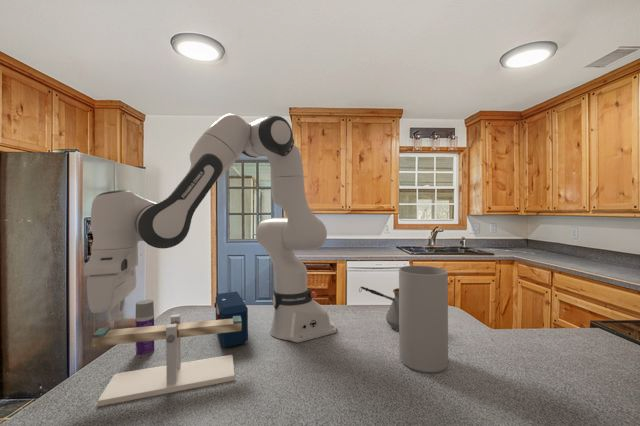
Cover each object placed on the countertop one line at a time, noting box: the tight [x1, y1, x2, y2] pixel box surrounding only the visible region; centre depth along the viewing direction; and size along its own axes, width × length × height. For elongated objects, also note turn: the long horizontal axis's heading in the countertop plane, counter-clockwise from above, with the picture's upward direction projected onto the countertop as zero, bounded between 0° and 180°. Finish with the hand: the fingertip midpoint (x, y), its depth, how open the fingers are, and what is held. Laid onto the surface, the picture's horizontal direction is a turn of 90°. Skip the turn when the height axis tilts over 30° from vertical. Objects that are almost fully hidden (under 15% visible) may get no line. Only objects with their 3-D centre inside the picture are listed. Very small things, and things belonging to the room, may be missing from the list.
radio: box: [213, 291, 249, 348], centre depth 97 cm, size 21×9×20 cm, turn 24°
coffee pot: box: [358, 286, 399, 331], centre depth 102 cm, size 21×12×15 cm, turn 98°
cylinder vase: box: [398, 265, 449, 374], centre depth 79 cm, size 12×12×25 cm
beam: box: [91, 316, 242, 348], centre depth 72 cm, size 32×4×3 cm, turn 109°
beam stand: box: [97, 313, 236, 407], centre depth 72 cm, size 28×11×15 cm, turn 109°
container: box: [134, 299, 155, 358], centre depth 85 cm, size 5×5×15 cm
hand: (117, 318), depth 68 cm, fingers closed
